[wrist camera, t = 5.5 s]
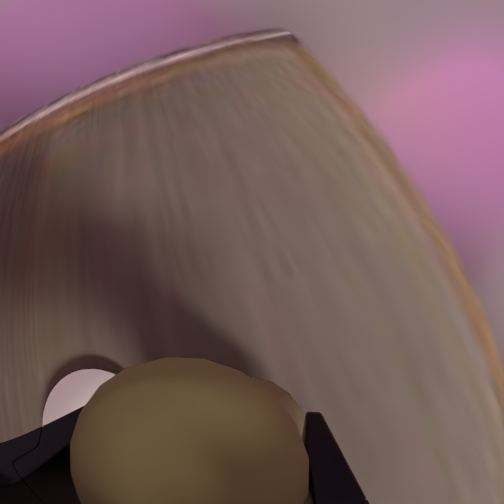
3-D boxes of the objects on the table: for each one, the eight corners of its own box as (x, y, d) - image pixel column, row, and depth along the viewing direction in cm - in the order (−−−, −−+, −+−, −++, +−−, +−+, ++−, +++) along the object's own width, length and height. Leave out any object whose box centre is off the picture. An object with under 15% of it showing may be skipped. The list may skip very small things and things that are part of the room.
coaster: (109, 522, 14) (102, 526, 13) (33, 421, 17) (24, 421, 16) (197, 448, 16) (192, 450, 15) (104, 343, 19) (96, 340, 18)
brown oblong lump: (177, 383, 15) (22, 334, 6) (296, 366, 15) (306, 292, 5) (194, 493, 13) (60, 581, 3) (316, 480, 12) (357, 598, 3)
